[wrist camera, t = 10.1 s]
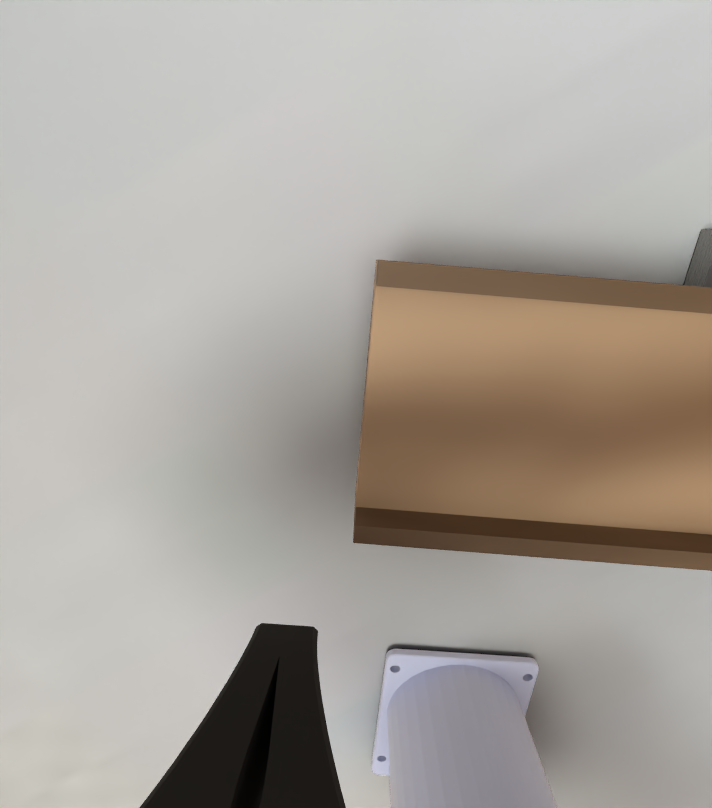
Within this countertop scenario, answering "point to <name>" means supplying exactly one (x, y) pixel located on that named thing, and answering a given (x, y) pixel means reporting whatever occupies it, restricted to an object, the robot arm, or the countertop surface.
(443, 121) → the countertop surface
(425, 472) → the beam
